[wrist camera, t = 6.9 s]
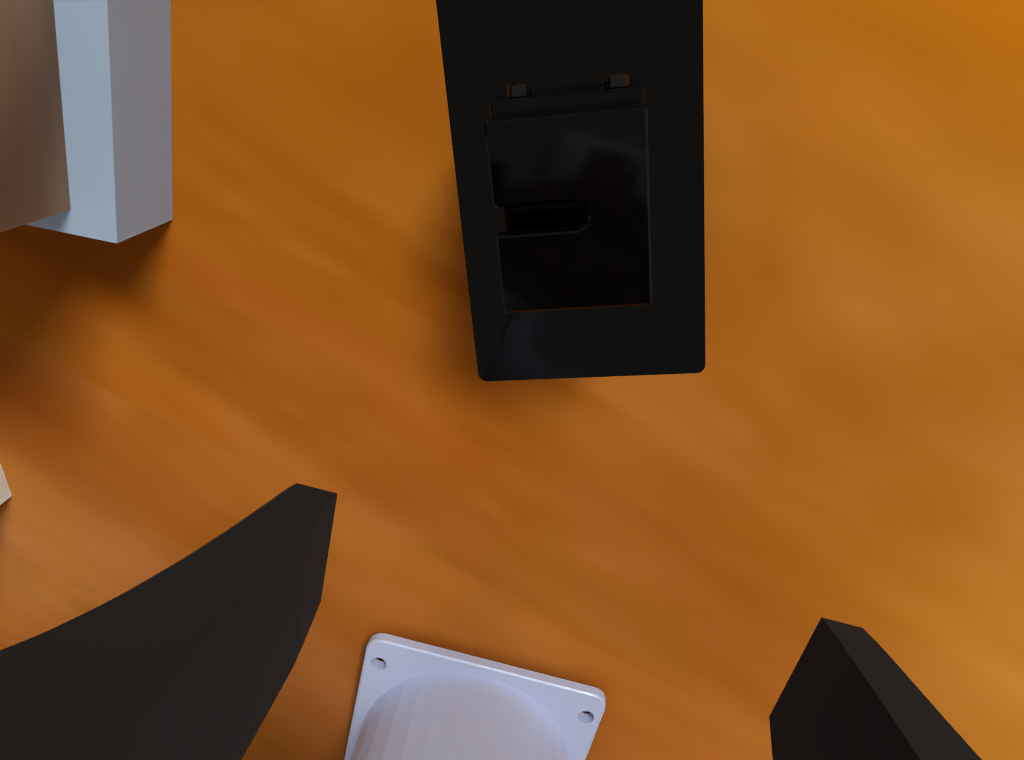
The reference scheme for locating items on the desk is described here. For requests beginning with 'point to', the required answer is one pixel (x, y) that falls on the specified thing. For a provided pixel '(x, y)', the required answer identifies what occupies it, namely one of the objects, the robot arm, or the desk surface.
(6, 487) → the cream cube
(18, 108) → the walnut cube
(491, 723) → the robot arm
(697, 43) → the black rectangular box
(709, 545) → the desk surface
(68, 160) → the blue slab
